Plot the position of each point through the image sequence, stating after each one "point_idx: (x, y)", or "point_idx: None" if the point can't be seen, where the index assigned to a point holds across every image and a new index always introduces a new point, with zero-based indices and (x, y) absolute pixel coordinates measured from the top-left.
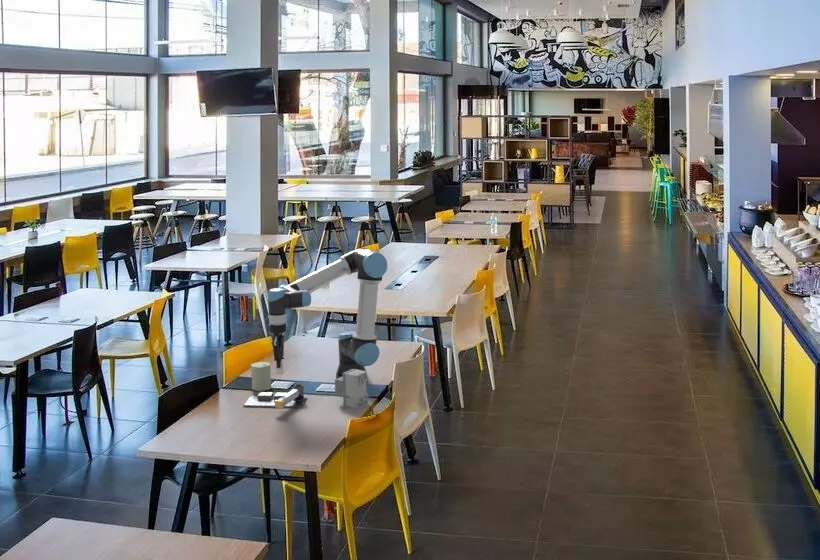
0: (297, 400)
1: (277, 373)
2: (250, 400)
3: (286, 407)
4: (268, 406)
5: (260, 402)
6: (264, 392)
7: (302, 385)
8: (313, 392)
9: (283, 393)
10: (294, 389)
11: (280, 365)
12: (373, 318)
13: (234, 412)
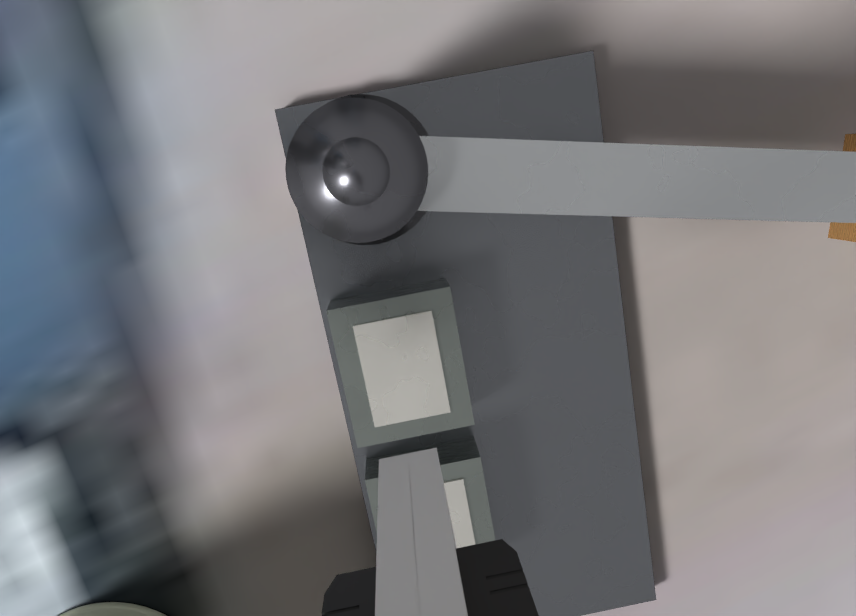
0: None
1: (453, 532)
2: None
3: None
4: (627, 382)
5: (562, 493)
6: None
7: (340, 112)
8: (51, 125)
9: (378, 358)
10: (454, 190)
11: (464, 573)
12: None
13: (795, 587)
